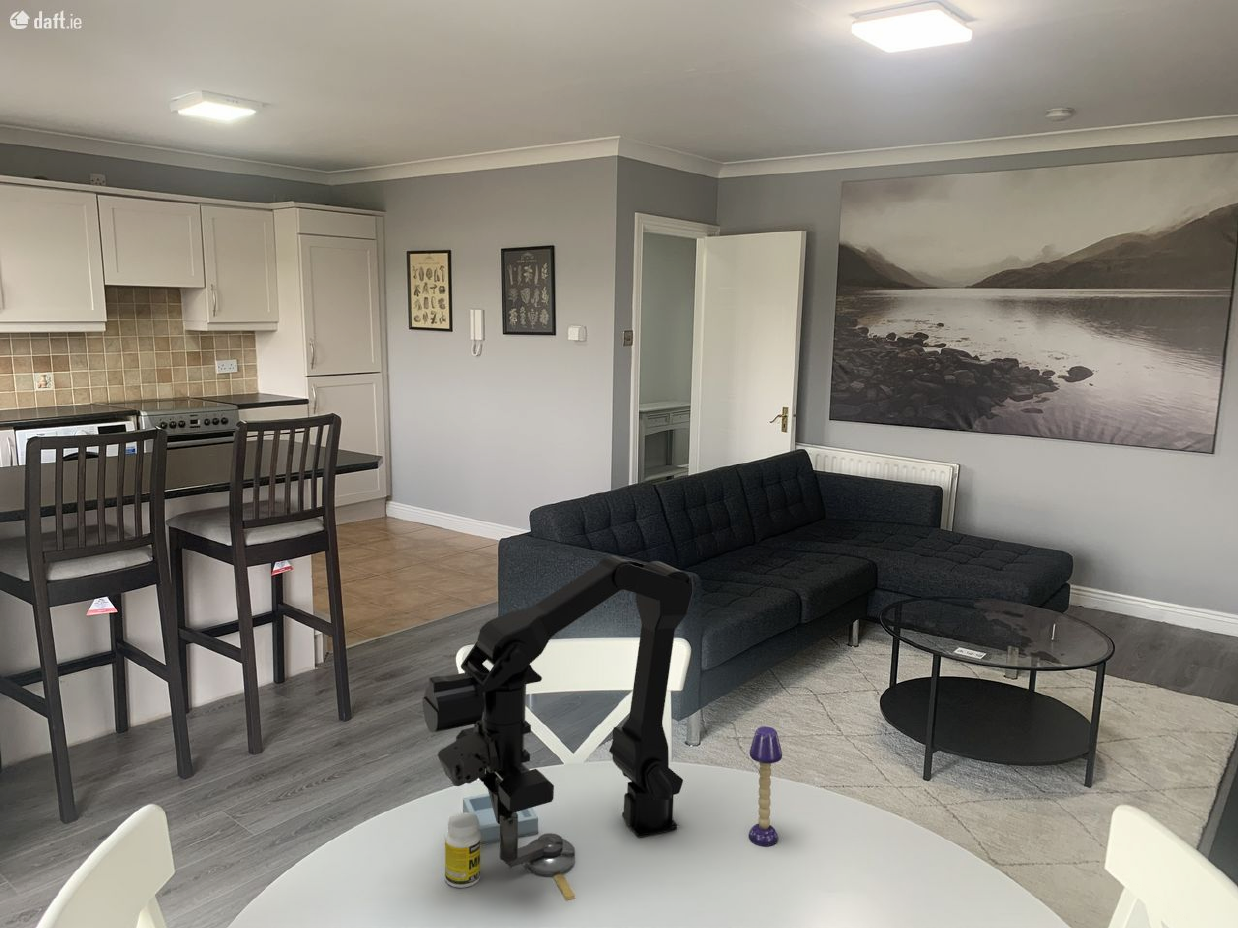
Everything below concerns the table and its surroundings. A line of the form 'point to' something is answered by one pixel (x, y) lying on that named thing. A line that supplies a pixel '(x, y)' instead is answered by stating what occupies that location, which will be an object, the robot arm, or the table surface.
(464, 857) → the supplement bottle
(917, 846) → the table surface
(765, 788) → the toy lamp
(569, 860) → the crank base
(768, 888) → the table surface
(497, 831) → the tray
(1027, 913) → the table surface
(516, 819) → the crank
